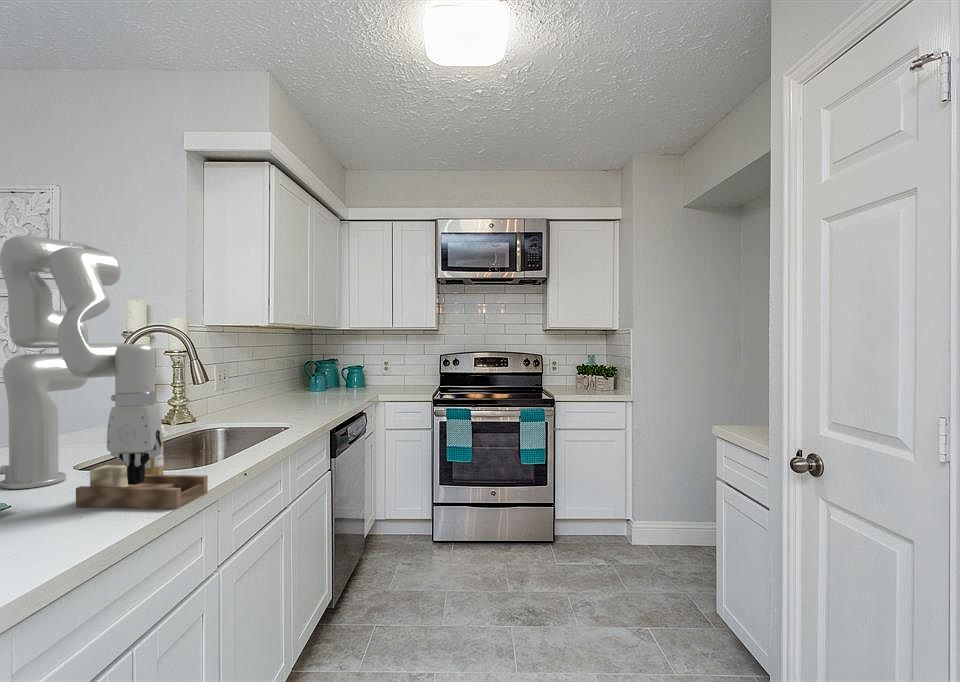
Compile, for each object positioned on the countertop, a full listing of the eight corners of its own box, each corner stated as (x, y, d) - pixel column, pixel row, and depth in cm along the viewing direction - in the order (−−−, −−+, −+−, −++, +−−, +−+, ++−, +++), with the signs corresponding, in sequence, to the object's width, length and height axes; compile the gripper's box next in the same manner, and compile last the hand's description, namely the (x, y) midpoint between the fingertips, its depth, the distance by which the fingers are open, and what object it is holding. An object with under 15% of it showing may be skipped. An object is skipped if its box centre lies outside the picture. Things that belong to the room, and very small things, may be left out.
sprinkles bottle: (164, 479, 141) (164, 426, 141) (143, 482, 138) (143, 428, 138) (163, 476, 145) (163, 424, 144) (142, 478, 142) (142, 425, 142)
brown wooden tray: (75, 507, 119) (75, 488, 118) (115, 491, 131) (115, 474, 130) (176, 508, 117) (176, 489, 117) (207, 492, 129) (207, 475, 129)
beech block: (90, 491, 122) (90, 470, 122) (106, 484, 127) (106, 465, 127) (112, 491, 121) (112, 470, 121) (128, 485, 126) (127, 465, 126)
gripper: (90, 402, 120) (90, 487, 121) (157, 402, 120) (158, 488, 120) (114, 398, 128) (115, 478, 128) (178, 398, 127) (178, 479, 127)
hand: (136, 483), depth 124 cm, fingers closed
